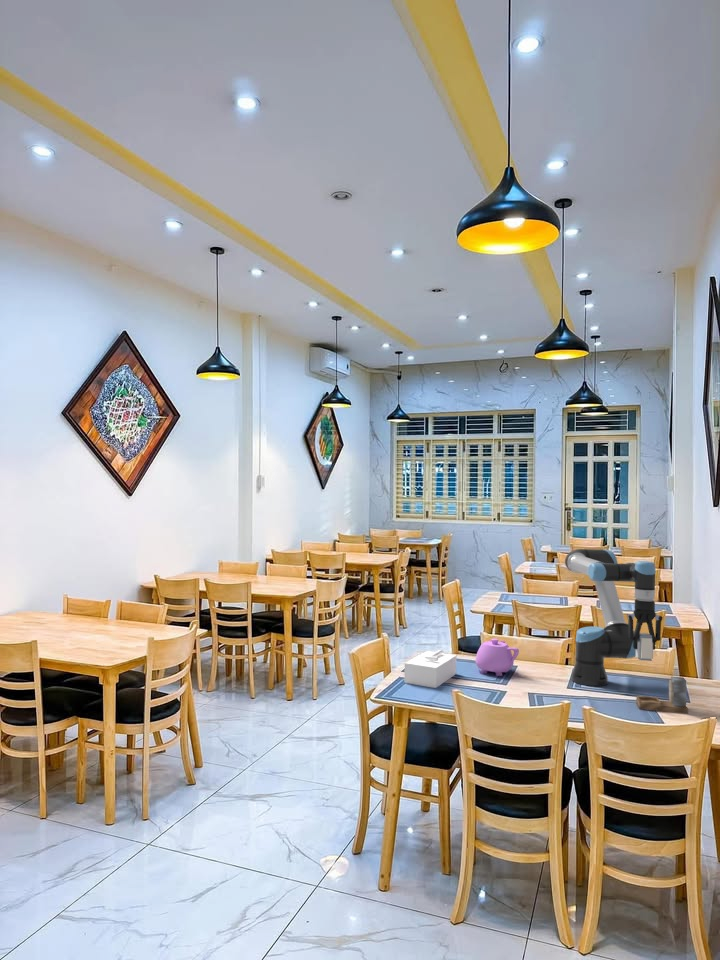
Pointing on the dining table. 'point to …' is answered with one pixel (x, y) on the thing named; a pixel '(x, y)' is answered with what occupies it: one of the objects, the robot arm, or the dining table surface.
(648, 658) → the light grey block
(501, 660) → the teapot
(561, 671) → the dining table surface
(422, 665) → the tissue box
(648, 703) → the wooden condiment holder
